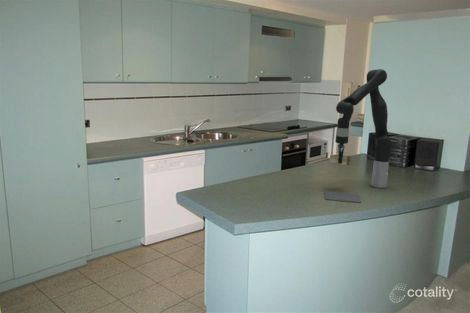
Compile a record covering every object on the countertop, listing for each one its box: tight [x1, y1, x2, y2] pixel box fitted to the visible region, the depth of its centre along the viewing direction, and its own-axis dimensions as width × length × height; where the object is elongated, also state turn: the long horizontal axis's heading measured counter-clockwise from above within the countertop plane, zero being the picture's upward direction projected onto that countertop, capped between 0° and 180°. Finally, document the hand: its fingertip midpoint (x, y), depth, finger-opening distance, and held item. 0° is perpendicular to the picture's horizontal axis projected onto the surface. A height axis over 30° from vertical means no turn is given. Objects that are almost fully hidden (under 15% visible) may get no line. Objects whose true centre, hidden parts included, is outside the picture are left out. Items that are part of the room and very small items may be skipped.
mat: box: [324, 191, 362, 204], centre depth 238 cm, size 20×15×1 cm
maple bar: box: [329, 153, 352, 166], centre depth 251 cm, size 4×12×5 cm, turn 78°
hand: (339, 162), depth 251 cm, fingers closed on maple bar, 4 cm apart
